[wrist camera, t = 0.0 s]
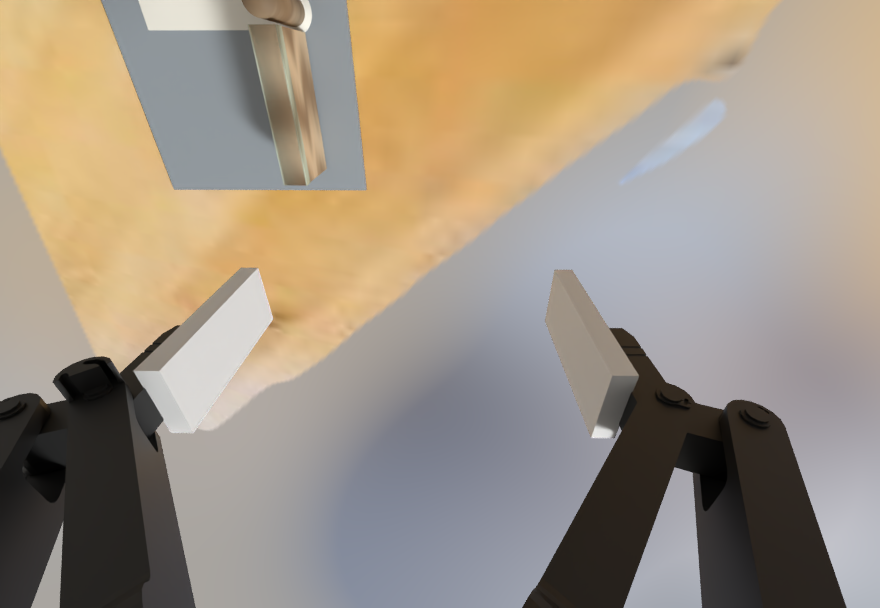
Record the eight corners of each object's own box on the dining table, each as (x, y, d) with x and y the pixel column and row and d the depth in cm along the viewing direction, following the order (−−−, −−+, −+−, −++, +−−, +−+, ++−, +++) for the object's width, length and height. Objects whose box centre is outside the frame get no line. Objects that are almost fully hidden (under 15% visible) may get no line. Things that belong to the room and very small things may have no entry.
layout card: (-7, -288, 25) (-13, -293, 25) (315, -292, 25) (313, -297, 24) (175, 188, 42) (173, 189, 42) (366, 189, 42) (366, 190, 41)
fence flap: (282, 32, 34) (247, 24, 28) (306, 32, 34) (276, 24, 28) (307, 168, 40) (283, 185, 34) (327, 168, 40) (307, 185, 34)
